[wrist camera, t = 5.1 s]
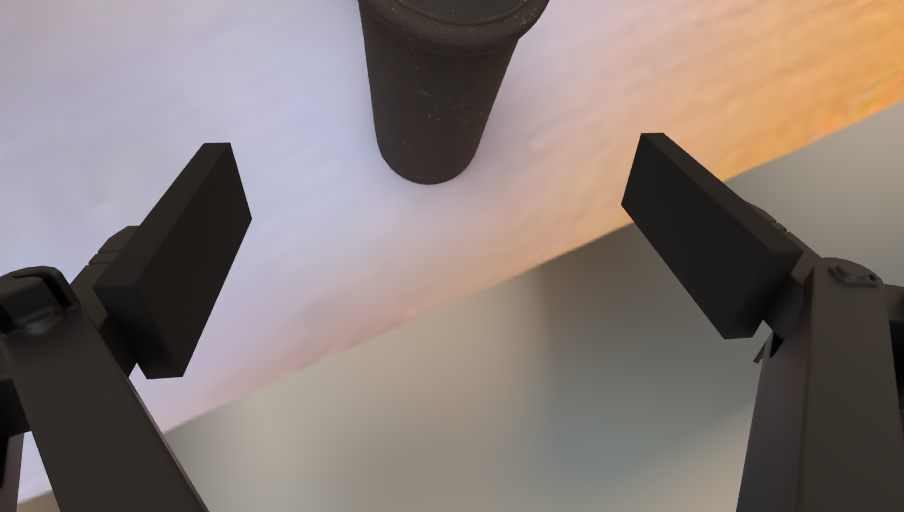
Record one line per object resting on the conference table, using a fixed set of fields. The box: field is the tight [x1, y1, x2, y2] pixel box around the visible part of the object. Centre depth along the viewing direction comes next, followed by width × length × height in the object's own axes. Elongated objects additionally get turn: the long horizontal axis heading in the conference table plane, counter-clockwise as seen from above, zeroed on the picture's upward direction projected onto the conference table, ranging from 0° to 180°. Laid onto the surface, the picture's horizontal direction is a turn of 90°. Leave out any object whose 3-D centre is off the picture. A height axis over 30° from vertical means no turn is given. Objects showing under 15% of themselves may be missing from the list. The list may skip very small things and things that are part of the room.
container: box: [358, 0, 549, 184], centre depth 26 cm, size 9×9×20 cm
